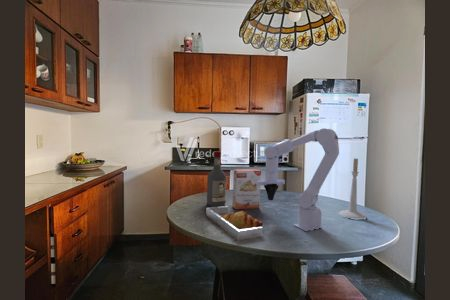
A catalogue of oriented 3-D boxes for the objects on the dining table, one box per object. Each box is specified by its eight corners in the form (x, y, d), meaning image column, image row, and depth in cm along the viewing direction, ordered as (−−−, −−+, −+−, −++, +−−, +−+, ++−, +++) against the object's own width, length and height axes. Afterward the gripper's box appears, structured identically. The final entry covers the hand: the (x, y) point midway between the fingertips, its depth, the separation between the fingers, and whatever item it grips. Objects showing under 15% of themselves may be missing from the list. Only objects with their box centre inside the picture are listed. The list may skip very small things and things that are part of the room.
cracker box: (235, 209, 140) (236, 170, 138) (232, 206, 145) (233, 169, 144) (259, 208, 143) (261, 170, 142) (255, 205, 149) (257, 168, 148)
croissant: (214, 231, 118) (211, 218, 114) (222, 215, 126) (219, 202, 122) (261, 238, 110) (259, 224, 106) (266, 221, 118) (264, 207, 114)
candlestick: (352, 211, 142) (356, 156, 140) (372, 219, 130) (376, 159, 128) (333, 213, 139) (336, 156, 137) (351, 221, 126) (355, 159, 124)
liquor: (204, 203, 150) (206, 151, 148) (218, 201, 155) (219, 150, 153) (214, 207, 142) (215, 152, 140) (227, 205, 148) (229, 152, 146)
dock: (226, 212, 134) (226, 205, 134) (262, 236, 105) (262, 227, 104) (206, 214, 130) (206, 207, 129) (238, 240, 100) (238, 231, 100)
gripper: (279, 169, 131) (277, 196, 132) (254, 170, 125) (253, 199, 126) (288, 171, 125) (286, 200, 126) (262, 172, 118) (261, 202, 119)
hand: (270, 199), depth 125 cm, fingers closed
